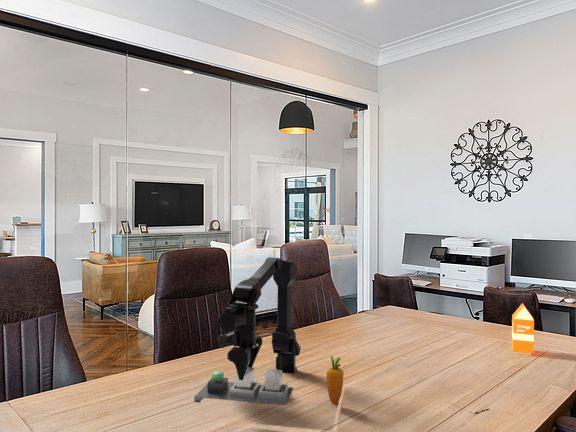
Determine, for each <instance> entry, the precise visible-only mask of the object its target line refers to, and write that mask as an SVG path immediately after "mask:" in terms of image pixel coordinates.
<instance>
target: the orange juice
mask: <svg viewBox="0 0 576 432" xmlns="http://www.w3.org/2000/svg"><path fill="white" fill-rule="evenodd" d="M511 316H512V317H511V323H512V324H511V350H512V349H513V351H512V353H513V352H523V353H533V354H534V341H535V320H534V318H533V316H532V315H531V313H530V312H529V310H528V309H527V308H526V306H525V305H524V303H523V302H522V303H520V306H519V307H518V308H517V309H516V310H515V312H513V314H511Z"/></svg>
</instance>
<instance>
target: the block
mask: <svg viewBox="0 0 576 432" xmlns="http://www.w3.org/2000/svg"><path fill="white" fill-rule="evenodd" d="M264 375H265V376H264V379H265V380H264V383H265V391H269V392H282V384H283V373H282V370H277V369H276V368H275V369H274V368H268V369H267V371H266V372H265V373H264Z"/></svg>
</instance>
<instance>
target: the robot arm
mask: <svg viewBox="0 0 576 432" xmlns="http://www.w3.org/2000/svg"><path fill="white" fill-rule="evenodd" d="M297 272H298V268H297V265H296V264H295V262H294V261H287V260H284V259H281V258H279V257H273V256H272V257H271V256H269V257H267V258H265V260H264V263H262V265H261V266H260V267H259V268H257V270H256V271H255V272H254V273H253V274H252V275H251V276H250V277H249V278H246V279H244V280H242V281H240V282H239V283H238V284H236V285H235V287H234V289H233V291H232V294H231V296H230V298H229V302H228V304H227V307H224V310H225V311H224V312H223V313H222V314H221V315H220V318H219V319H218V323H219V326H220V328H221V329H222V330H223V331H224V332H228V333H224V334H220V335H218V338H217V345H218V346H220V349H224V348H226V347H228V346H231V345H232V346H233V347H232V348H231V349H230V350H229V351H228V352H227V354H226V355H227V359H226V360H228V361H229V362H232V363H233V364H234V366H235V370H236V374H237V373H238V377H239V380H243V379H244V376H245V373H246V370H247V367H250V368H253V367H254V364H255V361H256V360H257V359H256V358H257V356H258V355H259V352H260V350H261V347H262V345H263V338H262V337H261V336H260V335H256V331H257V329H258V327H257V326H256V310H257V309H259V305H258V304H257V302H258V301H259V300H260V298H261V296H262V289H263V287H264V286H265V285H266V284H267V283H268V281H270V280H271V278H273V281H274V282H275V284H276V286H277V327H276V328H275V330H274V331H272V334H271V346H272V352H273V353H274V354H277V356H276V358H275V370H282V374H295V373H296V370H297V366H296V365H297V364H296V363H297V357H298V356H300V354H301V350H302V348H301V346H300V344H299V343H298V341H297V337H296V335H297V334H296V331H295V330H294V328H293V326H292V285H293V283H295V281H296V279H297Z"/></svg>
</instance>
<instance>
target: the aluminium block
mask: <svg viewBox="0 0 576 432" xmlns="http://www.w3.org/2000/svg"><path fill="white" fill-rule="evenodd" d="M236 381H237V389H246V390H253V388H254V382H255V367H252V368H250V367H247V370H246V373H245V376H244V379H243V380H239V377H238V373H237V372H236Z"/></svg>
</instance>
